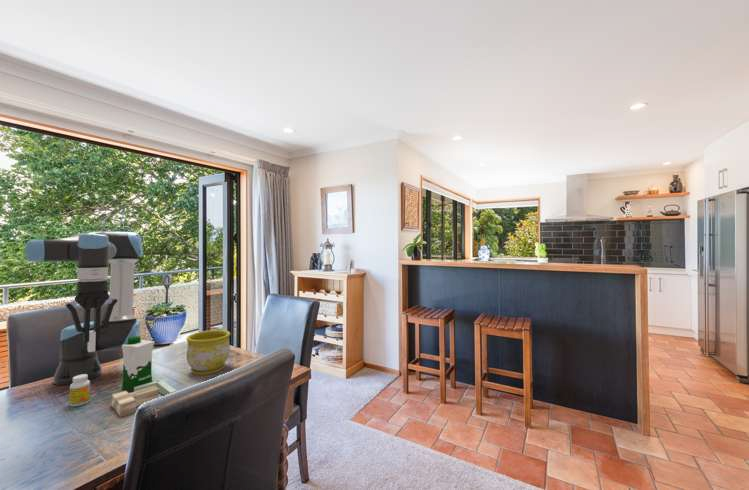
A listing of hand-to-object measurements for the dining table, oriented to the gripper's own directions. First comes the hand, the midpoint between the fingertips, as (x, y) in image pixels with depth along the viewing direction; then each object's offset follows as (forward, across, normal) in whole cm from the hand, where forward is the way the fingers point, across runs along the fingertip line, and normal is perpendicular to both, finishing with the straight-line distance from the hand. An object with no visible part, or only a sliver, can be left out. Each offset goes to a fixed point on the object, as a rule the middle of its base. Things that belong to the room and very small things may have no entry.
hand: (91, 350), depth 101 cm
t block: (+23, +13, -1) cm, 26 cm away
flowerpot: (+23, +43, +11) cm, 50 cm away
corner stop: (+23, +19, 0) cm, 29 cm away
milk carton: (+23, +17, +15) cm, 32 cm away
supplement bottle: (+23, 0, +16) cm, 28 cm away
